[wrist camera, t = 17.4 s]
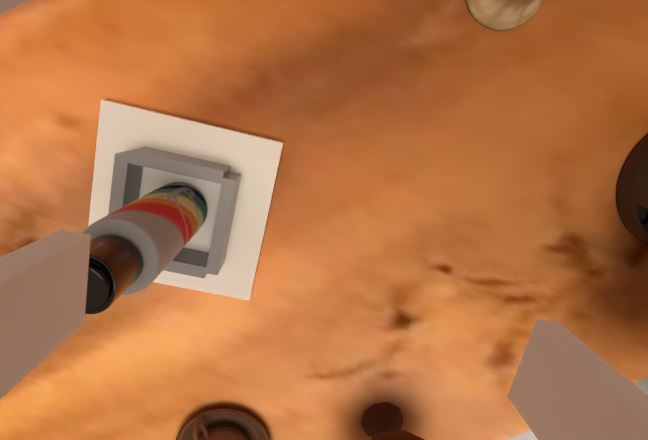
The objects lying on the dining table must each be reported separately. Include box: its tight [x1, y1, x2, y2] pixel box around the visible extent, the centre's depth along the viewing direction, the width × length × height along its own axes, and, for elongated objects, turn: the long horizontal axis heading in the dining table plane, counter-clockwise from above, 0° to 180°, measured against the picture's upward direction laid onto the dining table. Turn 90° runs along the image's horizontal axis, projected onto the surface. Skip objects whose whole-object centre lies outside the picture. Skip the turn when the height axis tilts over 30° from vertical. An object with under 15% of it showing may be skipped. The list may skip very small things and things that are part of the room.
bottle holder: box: [88, 100, 284, 300], centre depth 41 cm, size 18×18×6 cm
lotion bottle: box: [83, 182, 208, 314], centre depth 32 cm, size 6×6×20 cm
